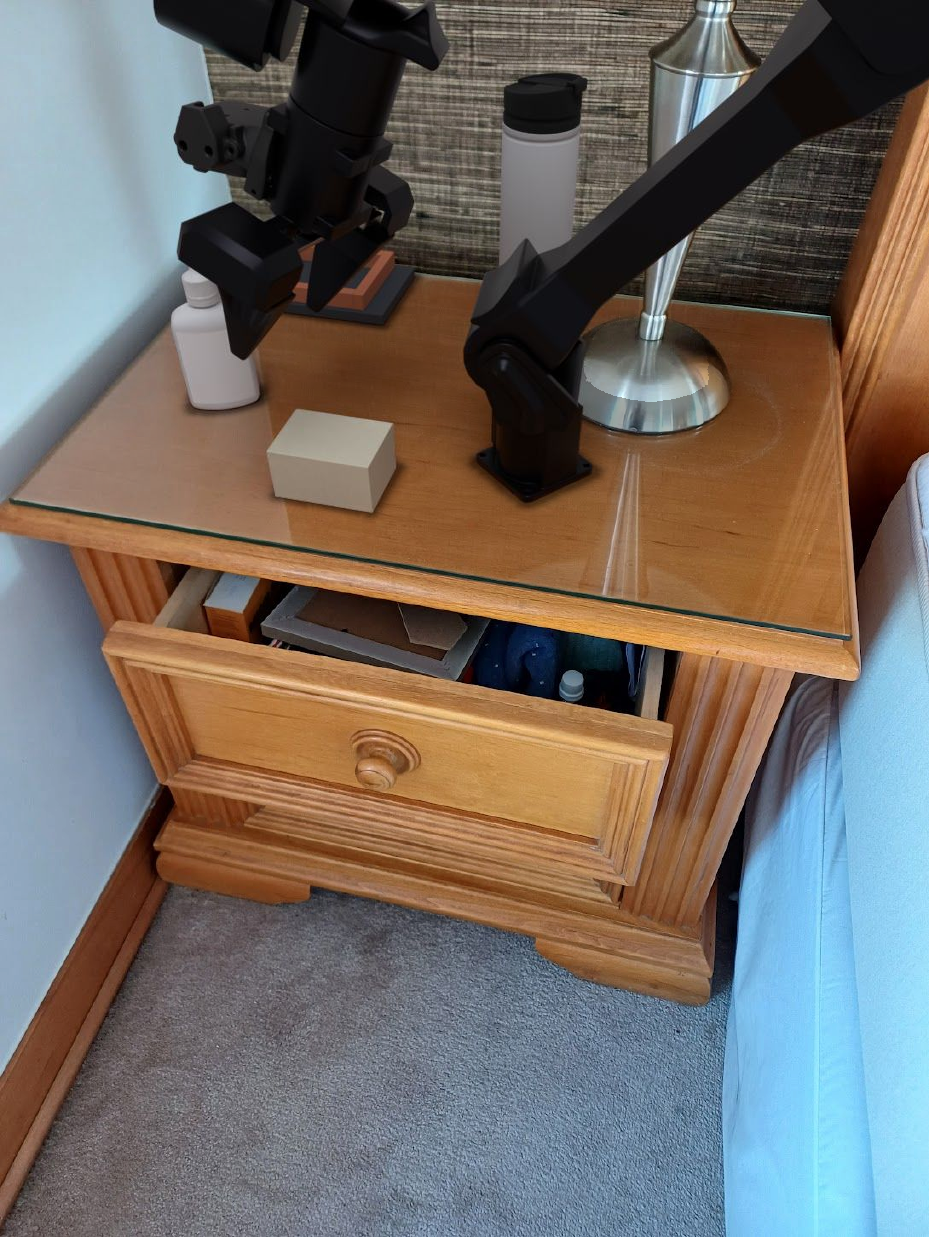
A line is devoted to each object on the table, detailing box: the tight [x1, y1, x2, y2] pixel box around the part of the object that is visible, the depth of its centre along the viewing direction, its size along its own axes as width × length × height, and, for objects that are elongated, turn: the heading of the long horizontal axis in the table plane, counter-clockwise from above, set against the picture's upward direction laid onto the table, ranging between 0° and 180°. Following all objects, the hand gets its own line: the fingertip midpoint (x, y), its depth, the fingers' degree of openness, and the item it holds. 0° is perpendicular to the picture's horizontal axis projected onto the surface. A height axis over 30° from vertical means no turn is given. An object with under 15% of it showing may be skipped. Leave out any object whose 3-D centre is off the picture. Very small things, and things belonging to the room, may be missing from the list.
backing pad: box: [284, 245, 416, 326], centre depth 87 cm, size 15×10×2 cm, turn 75°
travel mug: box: [498, 72, 589, 267], centre depth 76 cm, size 6×7×20 cm
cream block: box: [266, 408, 397, 514], centre depth 65 cm, size 8×6×4 cm
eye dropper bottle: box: [170, 266, 261, 411], centre depth 70 cm, size 4×6×12 cm
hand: (277, 331), depth 63 cm, fingers open, 9 cm apart
